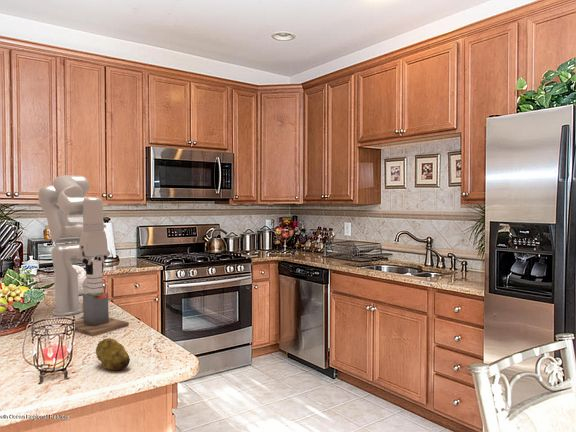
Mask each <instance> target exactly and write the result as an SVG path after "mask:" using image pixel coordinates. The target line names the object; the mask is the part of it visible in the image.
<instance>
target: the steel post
mask: <svg viewBox="0 0 576 432" xmlns="http://www.w3.org/2000/svg"><path fill="white" fill-rule="evenodd" d="M91 265H92V275H88V274H87V278H88V282H87V283H88V287H87V288H88V295H92V296H95V295H100V294H103V293H104V292H103V291H104V285H103V283H104V281H103V273H102V260H98V259H92V260H91Z"/></svg>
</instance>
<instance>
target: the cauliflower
mask: <svg viewBox="0 0 576 432" xmlns="http://www.w3.org/2000/svg"><path fill="white" fill-rule="evenodd" d="M72 267H73V268H74V269H75V270H76V271H77V274H78V296H83V294H84V290H83V281H84V280H85V279H86V270H85V268H83V267H82V266H80V265H76V264H72Z"/></svg>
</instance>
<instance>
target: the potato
mask: <svg viewBox="0 0 576 432" xmlns="http://www.w3.org/2000/svg"><path fill="white" fill-rule="evenodd" d="M95 348H96V349H95V354H96V358H97V360H98V361H100V362H101V365H102V366H103V367H104V368H105V369H106V370H111V371H121V370H122V371H123V370H124V369H126V368H127V367H128V366H129V364H130V362H131V358H130V355H129V353H128V352H127V350H126V349H125V345H122V343H119V341H118V340H116V339H114V338H110V337H109V338H104V339H103V340H101V341H99V342H98V344H97V345H96V347H95Z"/></svg>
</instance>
